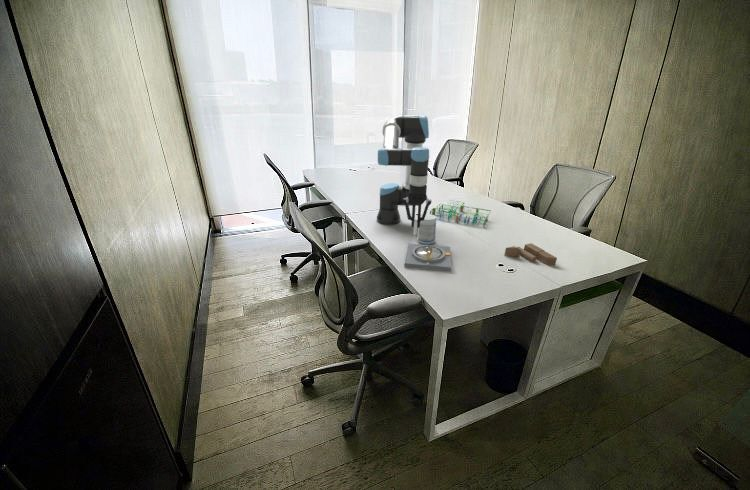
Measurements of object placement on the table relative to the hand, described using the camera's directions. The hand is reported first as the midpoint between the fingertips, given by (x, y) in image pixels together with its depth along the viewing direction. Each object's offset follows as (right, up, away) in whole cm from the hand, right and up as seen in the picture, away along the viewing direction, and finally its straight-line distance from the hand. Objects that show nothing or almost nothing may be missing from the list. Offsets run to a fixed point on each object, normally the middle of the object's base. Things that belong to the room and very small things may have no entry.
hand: (415, 233), depth 155 cm
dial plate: (+8, -12, +12) cm, 19 cm away
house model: (+39, +14, +67) cm, 79 cm away
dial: (+8, -11, +10) cm, 17 cm away
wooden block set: (+59, -13, +12) cm, 61 cm away
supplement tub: (+10, -3, +31) cm, 32 cm away
